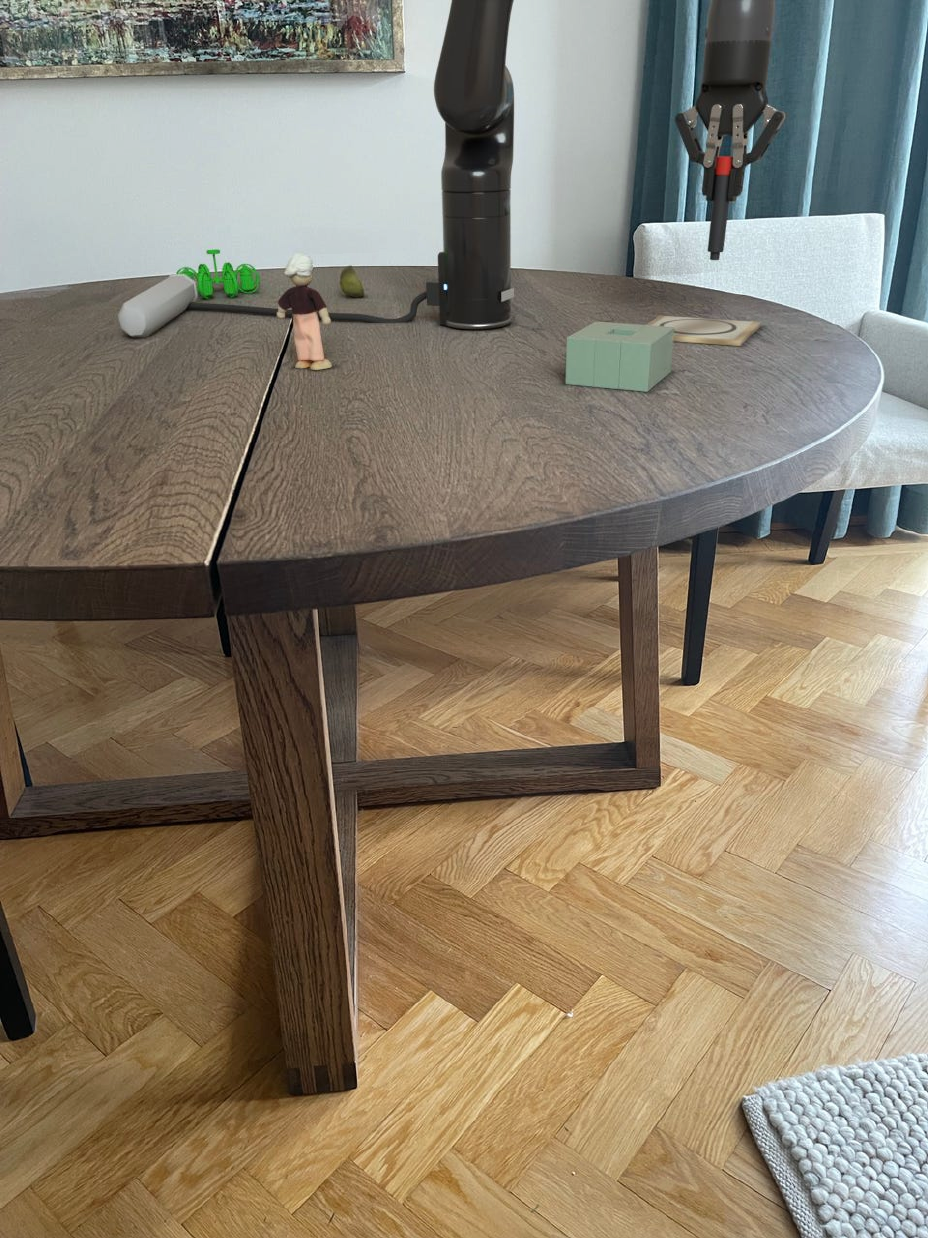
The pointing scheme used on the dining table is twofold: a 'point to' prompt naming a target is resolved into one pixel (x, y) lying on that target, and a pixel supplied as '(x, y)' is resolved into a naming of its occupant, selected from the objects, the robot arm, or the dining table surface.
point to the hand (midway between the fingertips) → (720, 199)
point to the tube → (157, 306)
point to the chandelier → (223, 277)
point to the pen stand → (619, 356)
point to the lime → (351, 283)
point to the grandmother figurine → (305, 313)
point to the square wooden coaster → (708, 330)
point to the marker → (719, 206)
